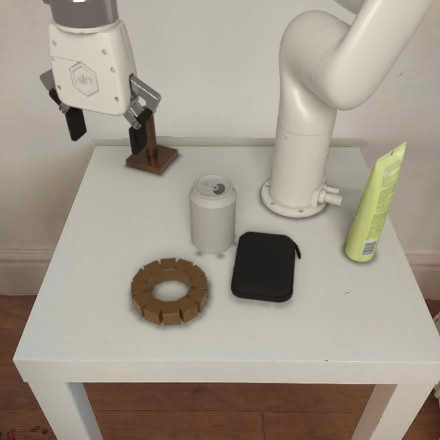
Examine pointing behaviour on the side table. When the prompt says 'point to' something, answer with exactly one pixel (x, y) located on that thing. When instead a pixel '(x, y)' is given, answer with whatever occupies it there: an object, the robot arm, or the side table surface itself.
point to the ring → (169, 310)
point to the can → (212, 213)
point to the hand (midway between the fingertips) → (108, 143)
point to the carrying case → (264, 267)
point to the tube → (374, 206)
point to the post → (152, 153)
